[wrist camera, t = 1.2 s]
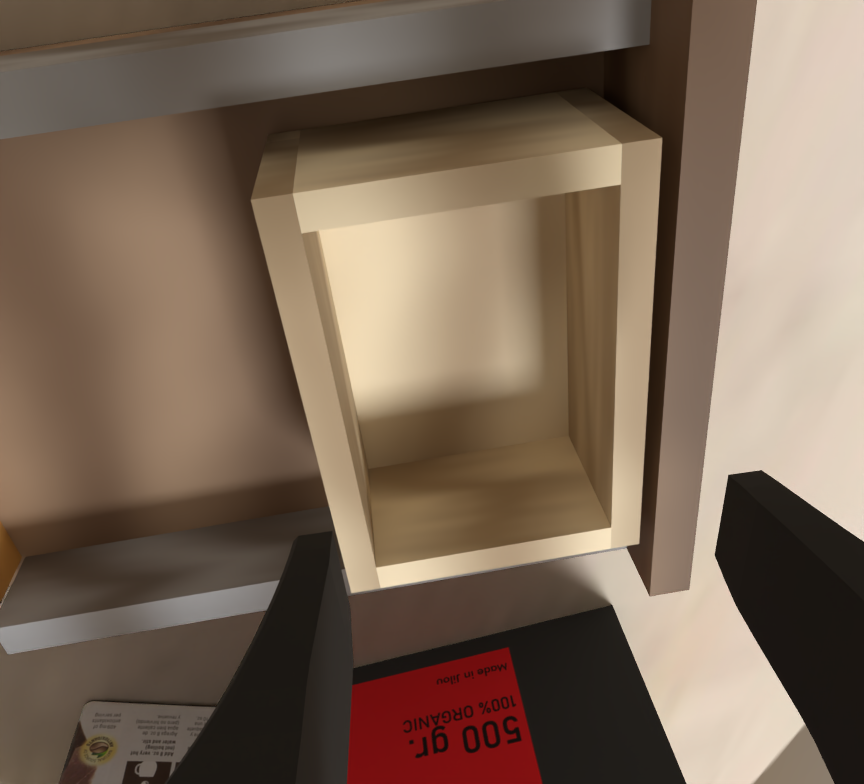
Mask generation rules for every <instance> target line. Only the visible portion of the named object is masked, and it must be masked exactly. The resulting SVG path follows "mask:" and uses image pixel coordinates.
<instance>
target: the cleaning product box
mask: <svg viewBox="0 0 864 784" xmlns="http://www.w3.org/2000/svg"><path fill="white" fill-rule="evenodd" d="M347 784H686V782H685V779H684V777H683V775H682V772H681V770H680V767H679V765H678V763H677V760H676V758H675V755H674V753H673V750H672V748H671V746H670V743H669V741H668V738H667V736H666V734H665V731H664V729H663V726H662V724H661V722H660V719H659V717H658V714H657V712H656V709H655V707H654V705H653V702H652V700H651V697H650V695H649V693H648V690H647V688H646V685H645V683H644V680H643V678H642V676H641V673H640V671H639V668H638V666H637V664H636V661H635V659H634V656H633V654H632V651H631V649H630V647H629V644H628V642H627V639H626V637H625V635H624V632H623V630H622V627H621V625H620V622H619V620H618V618H617V615H616V613H615V610H614V608H613V606H612V605H611V606H607V607H603V608H599V609H595V610H591V611H586V612H582V613H578V614H574V615H570V616H566V617H562V618H558V619H554V620H550V621H545V622H541V623H537V624H533V625H529V626H525V627H521V628H517V629H513V630H509V631H504V632H500V633H496V634H492V635H488V636H484V637H480V638H476V639H472V640H468V641H464V642H459V643H455V644H451V645H447V646H443V647H439V648H435V649H431V650H427V651H423V652H418V653H414V654H410V655H406V656H402V657H398V658H394V659H390V660H386V661H382V662H377V663H373V664H369V665H365V666H361V667H357V668H353V678H352V698H351V717H350V736H349V755H348V773H347Z"/></svg>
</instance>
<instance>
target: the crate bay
mask: <svg viewBox="0 0 864 784" xmlns="http://www.w3.org/2000/svg"><path fill="white" fill-rule="evenodd" d="M756 4H757V0H360V1H353V2H346V3H339V4H332V5H325V6H318V7H311V8H304V9H297V10H290V11H283V12H276V13H268V14H261V15H254V16H247V17H240V18H233V19H226V20H219V21H212V22H205V23H198V24H191V25H184V26H177V27H170V28H163V29H156V30H149V31H142V32H134V33H127V34H120V35H113V36H106V37H99V38H92V39H85V40H78V41H71V42H64V43H57V44H50V45H43V46H36V47H29V48H22V49H15V50H8V51H1V52H0V603H1V601H2V599H3V597H4V595H5V592H6V590H7V588H8V587H11V588H10V590H9V592H8V594H7V597H6V599H5V601H4V603H3V605H2V607H1V609H0V643H1V645H2V646H3V648H4V649H5V651H6V652H7V654H8V655H9V654H15V653H20V652H26V651H32V650H38V649H44V648H49V647H55V646H61V645H67V644H73V643H79V642H84V641H90V640H96V639H102V638H108V637H113V636H119V635H125V634H131V633H137V632H143V631H148V630H154V629H160V628H166V627H172V626H177V625H183V624H189V623H195V622H201V621H207V620H212V619H218V618H224V617H230V616H236V615H241V614H247V613H253V612H259V611H265V610H267V609H268V607H269V604H270V602H271V600H272V598H273V595H274V593H275V590H276V588H277V586H278V583H279V581H280V578H281V576H282V573H283V570H284V568H285V565H286V562H287V559H288V556H289V554H290V550H291V547H292V544H293V541H294V540H295V539H296V538H297V537H298V536H300V535H307V534H314V533H321V532H328V531H333V535H334V539H335V544H336V548H337V553H338V557H339V561H340V566H341V570H342V575H343V579H344V583H345V588H346V592H347V596H352V595H358V594H364V593H369V592H375V591H381V590H387V589H393V588H398V587H404V586H410V585H416V584H422V583H428V582H433V581H439V580H445V579H451V578H457V577H462V576H468V575H474V574H480V573H486V572H491V571H497V570H503V569H509V568H515V567H521V566H526V565H532V564H538V563H544V562H550V561H555V560H561V559H567V558H573V557H579V556H585V555H590V554H596V553H602V552H608V551H614V550H619V549H625V548H627V549H628V552H629V554H630V556H631V558H632V560H633V562H634V564H635V566H636V568H637V571H638V573H639V575H640V577H641V579H642V581H643V583H644V585H645V587H646V589H647V592H648V594H649V596H655V595H661V594H667V593H672V592H678V591H684V590H689V587H690V578H691V569H692V561H693V552H694V543H695V535H696V526H697V517H698V509H699V500H700V491H701V482H702V474H703V465H704V456H705V448H706V439H707V430H708V422H709V413H710V404H711V396H712V387H713V378H714V369H715V361H716V352H717V343H718V335H719V326H720V317H721V309H722V300H723V291H724V282H725V274H726V265H727V256H728V248H729V239H730V230H731V222H732V213H733V204H734V196H735V187H736V178H737V169H738V161H739V152H740V143H741V135H742V126H743V117H744V109H745V100H746V91H747V82H748V74H749V65H750V56H751V48H752V39H753V30H754V22H755V13H756ZM580 88H588V89H590V90H591V91H593V92H594V93H596V94H597V95H599V96H600V97H602V98H603V99H605V100H606V101H608V102H609V103H611V104H612V105H614V106H615V107H617V108H618V109H620V110H621V111H623V112H624V113H626V114H627V115H629V116H630V117H632V118H633V119H635V120H636V121H638V122H639V123H641V124H642V125H644V126H646V127H647V128H649V129H650V130H652V131H653V132H655V133H656V134H658V135H659V136H661V137H662V154H661V172H660V189H659V207H658V224H657V241H656V259H655V276H654V294H653V311H652V329H651V346H650V364H649V381H648V399H647V416H646V433H645V451H644V468H643V486H642V503H641V521H640V538H639V544H635V545H630V546H624V547H618V548H612V549H606V550H600V551H595V552H589V553H583V554H577V555H571V556H566V557H560V558H554V559H548V560H542V561H536V562H531V563H525V564H519V565H513V566H507V567H502V568H496V569H490V570H484V571H478V572H472V573H467V574H461V575H455V576H449V577H443V578H438V579H432V580H426V581H420V582H414V583H408V584H403V585H397V586H391V587H385V588H379V589H374V590H368V591H362V592H356V593H351V589H350V585H349V582H348V578H347V574H346V570H345V566H344V562H343V558H342V554H341V550H340V546H339V543H338V539H337V535H336V531H335V527H334V523H333V519H332V515H331V511H330V507H329V504H328V500H327V496H326V492H325V488H324V484H323V480H322V476H321V472H320V468H319V465H318V461H317V457H316V453H315V449H314V445H313V441H312V437H311V433H310V429H309V426H308V422H307V418H306V414H305V410H304V406H303V402H302V398H301V394H300V390H299V387H298V383H297V379H296V375H295V371H294V367H293V363H292V359H291V355H290V351H289V348H288V344H287V340H286V336H285V332H284V328H283V324H282V320H281V316H280V312H279V308H278V305H277V301H276V297H275V293H274V289H273V285H272V281H271V277H270V273H269V269H268V266H267V262H266V258H265V254H264V250H263V246H262V242H261V238H260V234H259V230H258V227H257V223H256V219H255V215H254V211H253V207H252V203H251V197H252V193H253V189H254V186H255V182H256V178H257V174H258V171H259V167H260V163H261V160H262V156H263V152H264V149H265V145H266V141H267V137H268V135H269V134H276V133H283V132H289V131H296V130H303V129H310V128H316V127H323V126H330V125H337V124H344V123H350V122H357V121H364V120H371V119H377V118H384V117H391V116H398V115H404V114H411V113H418V112H425V111H431V110H438V109H445V108H452V107H458V106H465V105H472V104H479V103H486V102H492V101H499V100H506V99H513V98H519V97H526V96H533V95H540V94H546V93H553V92H560V91H567V90H573V89H580Z"/></svg>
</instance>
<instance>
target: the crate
mask: <svg viewBox="0 0 864 784" xmlns="http://www.w3.org/2000/svg"><path fill="white" fill-rule="evenodd" d="M661 154H662V137H661V136H659V135H658V134H656V133H655V132H653V131H652V130H650V129H649V128H647V127H646V126H644V125H642V124H641V123H639V122H638V121H636V120H635V119H633V118H632V117H630V116H629V115H627V114H626V113H624V112H623V111H621V110H620V109H618V108H617V107H615V106H614V105H612V104H611V103H609V102H608V101H606V100H605V99H603V98H602V97H600V96H599V95H597V94H596V93H594V92H593V91H591V90H590V89H588V88H580V89H573V90H567V91H560V92H553V93H546V94H540V95H533V96H526V97H519V98H513V99H506V100H499V101H492V102H486V103H479V104H472V105H465V106H458V107H452V108H445V109H438V110H431V111H425V112H418V113H411V114H404V115H398V116H391V117H384V118H377V119H371V120H364V121H357V122H350V123H344V124H337V125H330V126H323V127H316V128H310V129H303V130H296V131H289V132H283V133H276V134H269V135H268V137H267V141H266V145H265V149H264V152H263V156H262V160H261V163H260V167H259V171H258V174H257V178H256V182H255V186H254V189H253V193H252V197H251V203H252V207H253V211H254V215H255V219H256V223H257V227H258V230H259V234H260V238H261V242H262V246H263V250H264V254H265V258H266V262H267V266H268V269H269V273H270V277H271V281H272V285H273V289H274V293H275V297H276V301H277V305H278V308H279V312H280V316H281V320H282V324H283V328H284V332H285V336H286V340H287V344H288V348H289V351H290V355H291V359H292V363H293V367H294V371H295V375H296V379H297V383H298V387H299V390H300V394H301V398H302V402H303V406H304V410H305V414H306V418H307V422H308V426H309V429H310V433H311V437H312V441H313V445H314V449H315V453H316V457H317V461H318V465H319V468H320V472H321V476H322V480H323V484H324V488H325V492H326V496H327V500H328V504H329V507H330V511H331V515H332V519H333V523H334V527H335V531H336V535H337V539H338V543H339V546H340V550H341V554H342V558H343V562H344V566H345V570H346V574H347V578H348V582H349V585H350V589H351V593H356V592H362V591H368V590H374V589H379V588H385V587H391V586H397V585H403V584H408V583H414V582H420V581H426V580H432V579H438V578H443V577H449V576H455V575H461V574H467V573H472V572H478V571H484V570H490V569H496V568H502V567H507V566H513V565H519V564H525V563H531V562H536V561H542V560H548V559H554V558H560V557H566V556H571V555H577V554H583V553H589V552H595V551H600V550H606V549H612V548H618V547H624V546H630V545H635V544H639V538H640V521H641V503H642V486H643V468H644V451H645V433H646V416H647V399H648V381H649V364H650V346H651V329H652V311H653V294H654V276H655V259H656V241H657V224H658V207H659V189H660V172H661Z"/></svg>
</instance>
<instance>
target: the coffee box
mask: <svg viewBox="0 0 864 784" xmlns="http://www.w3.org/2000/svg"><path fill="white" fill-rule="evenodd" d="M215 708H216V707H199V706H181V705H157V704H136V703H118V702H100V701H91V702H88V703H87V704H85V705H84V707H83V709H82V712H81V715H80V719H79V722H78V725H77V728H76V731H75V734H74V737H73V740H72V743H71V747H70V750H69V753H68V756H67V759H66V762H65V765H64V769H63V772H62V775H61V778H60V781H59V784H164V783H165V782H166V781H167V779H168V778H169V777H170V775H171V774H172V773H173V771H174V770H175V768H176V767H177V765H178V764H179V762H180V761H181V760H182V758H183V757H184V755H185V754H186V752H187V751H188V750H189V748H190V747H191V745H192V744H193V742H194V741H195V739H196V738H197V736H198V735H199V733H200V732H201V730H202V729H203V727H204V725H205V724H206V722H207V721H208V719H209V718H210V716H211V714H212V713H213V711H214V710H215Z"/></svg>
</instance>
